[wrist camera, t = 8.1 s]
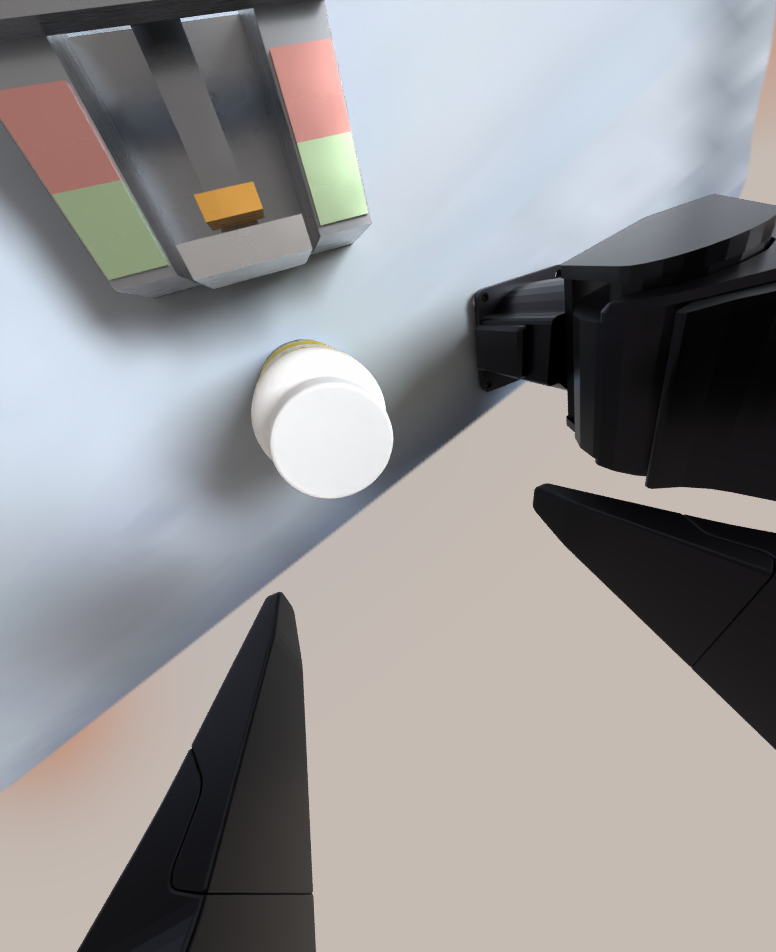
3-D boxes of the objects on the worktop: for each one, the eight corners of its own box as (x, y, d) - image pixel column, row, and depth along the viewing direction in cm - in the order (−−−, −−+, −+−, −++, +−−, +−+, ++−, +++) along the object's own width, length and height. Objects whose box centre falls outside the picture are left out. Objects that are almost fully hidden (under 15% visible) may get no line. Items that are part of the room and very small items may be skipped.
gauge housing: (297, 20, 11) (305, -125, 7) (352, 243, 14) (375, 219, 11) (8, 62, 9) (-156, -94, 6) (152, 297, 13) (105, 289, 9)
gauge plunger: (205, -40, 9) (170, -207, 6) (306, 263, 13) (312, 248, 10) (56, -25, 8) (-61, -202, 5) (213, 289, 13) (194, 280, 10)
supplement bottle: (340, 437, 19) (382, 523, 11) (254, 418, 17) (227, 509, 9) (363, 357, 17) (436, 389, 9) (269, 322, 15) (254, 324, 7)
